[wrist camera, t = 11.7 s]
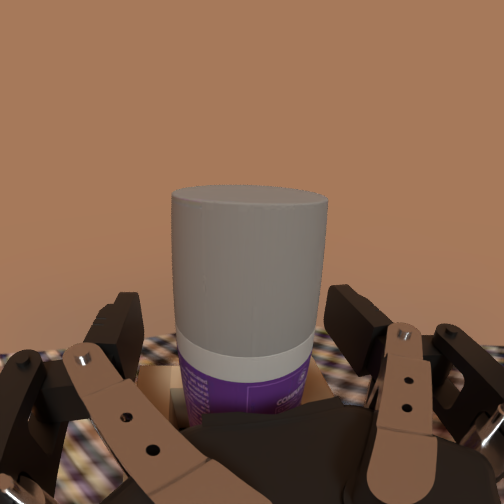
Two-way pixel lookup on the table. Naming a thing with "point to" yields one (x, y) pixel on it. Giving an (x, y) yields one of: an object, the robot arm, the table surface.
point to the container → (245, 294)
